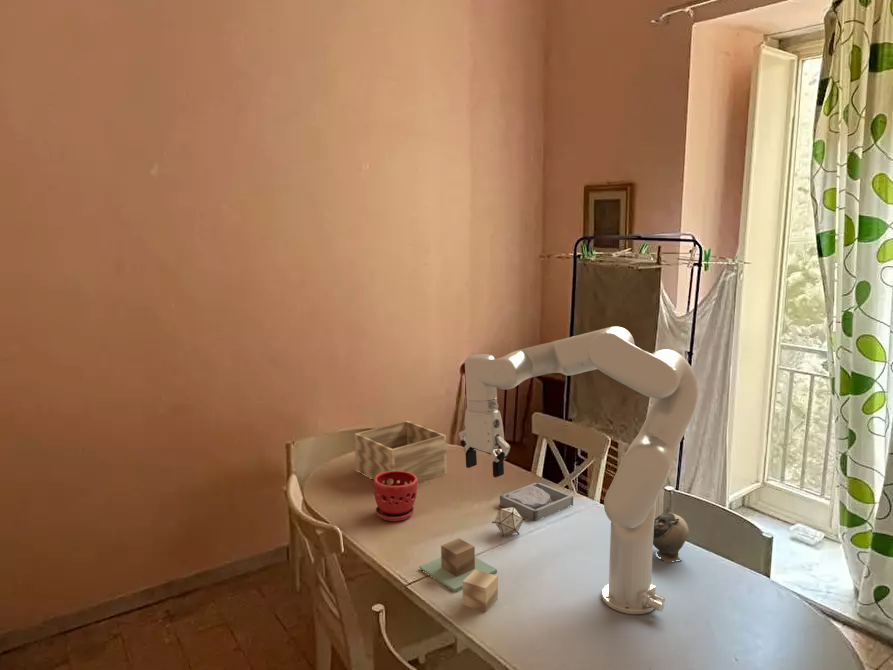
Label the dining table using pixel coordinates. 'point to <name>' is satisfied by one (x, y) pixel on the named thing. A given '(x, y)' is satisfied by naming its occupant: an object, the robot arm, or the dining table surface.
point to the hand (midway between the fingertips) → (484, 471)
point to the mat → (448, 578)
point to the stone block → (531, 497)
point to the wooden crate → (401, 451)
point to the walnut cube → (457, 557)
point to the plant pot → (395, 495)
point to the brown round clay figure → (669, 535)
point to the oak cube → (480, 590)
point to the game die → (508, 520)
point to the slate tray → (536, 514)
